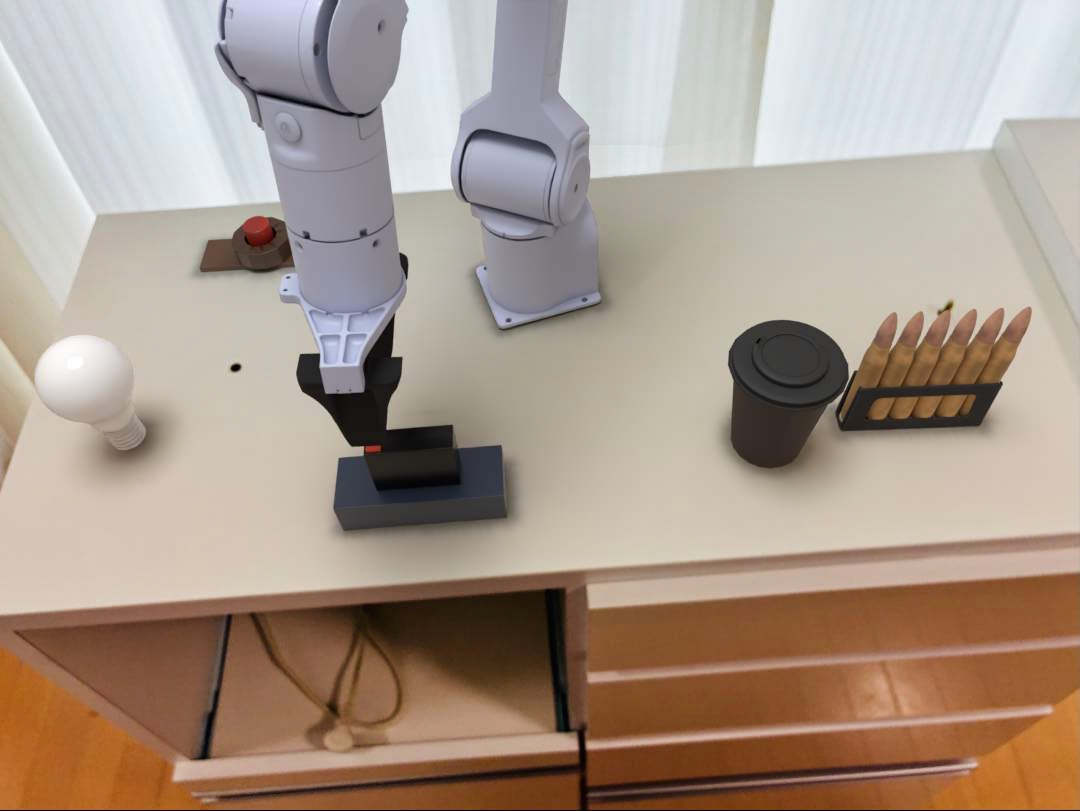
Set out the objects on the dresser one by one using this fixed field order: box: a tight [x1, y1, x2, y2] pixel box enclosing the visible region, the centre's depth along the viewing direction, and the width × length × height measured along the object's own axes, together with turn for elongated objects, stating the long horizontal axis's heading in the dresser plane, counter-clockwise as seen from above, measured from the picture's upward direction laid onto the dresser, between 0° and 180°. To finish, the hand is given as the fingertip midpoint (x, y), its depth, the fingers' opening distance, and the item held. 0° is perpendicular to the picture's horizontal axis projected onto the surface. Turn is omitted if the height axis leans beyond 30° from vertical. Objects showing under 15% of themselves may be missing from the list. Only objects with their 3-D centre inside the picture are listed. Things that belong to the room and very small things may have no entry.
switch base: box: [332, 444, 508, 531], centre depth 60 cm, size 12×4×3 cm, turn 94°
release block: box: [199, 216, 295, 273], centre depth 78 cm, size 12×5×2 cm, turn 92°
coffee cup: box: [727, 319, 850, 469], centre depth 59 cm, size 8×8×10 cm
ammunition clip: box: [834, 306, 1033, 432], centre depth 59 cm, size 11×2×12 cm, turn 91°
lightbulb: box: [33, 334, 147, 451], centre depth 62 cm, size 6×6×11 cm
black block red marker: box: [362, 424, 461, 491], centre depth 57 cm, size 6×2×5 cm, turn 94°
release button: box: [242, 215, 274, 246], centre depth 77 cm, size 2×2×2 cm
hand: (371, 398), depth 53 cm, fingers open, 7 cm apart
